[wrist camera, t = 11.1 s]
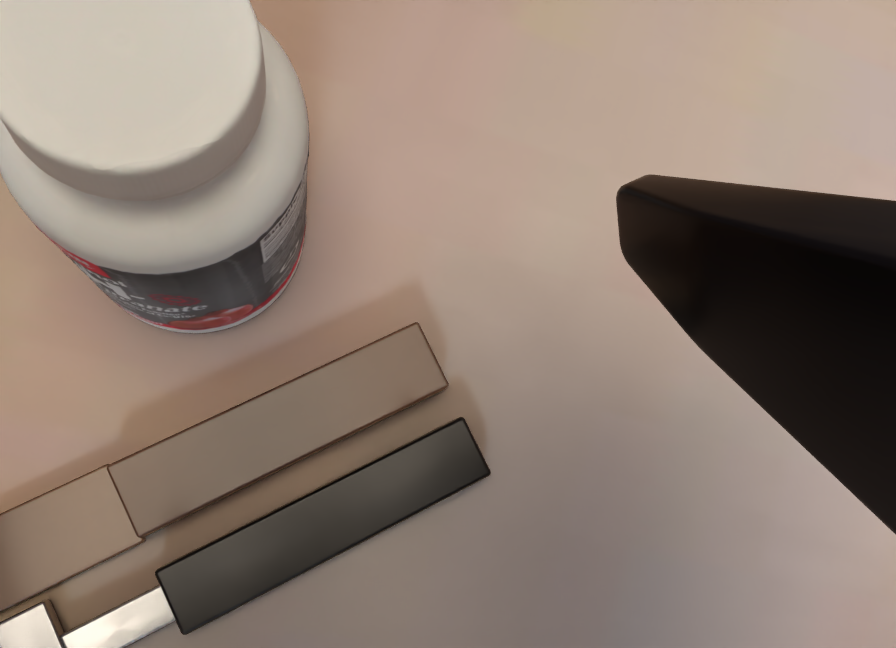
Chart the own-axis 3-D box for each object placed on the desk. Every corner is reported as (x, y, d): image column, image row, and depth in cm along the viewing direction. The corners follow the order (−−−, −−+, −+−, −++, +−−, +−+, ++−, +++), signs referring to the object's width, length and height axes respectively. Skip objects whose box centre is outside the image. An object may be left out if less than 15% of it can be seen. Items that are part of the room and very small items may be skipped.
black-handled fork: (448, 400, 22) (454, 397, 21) (493, 492, 22) (501, 492, 21) (-209, 726, 18) (-235, 738, 17) (-163, 841, 18) (-187, 859, 17)
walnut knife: (411, 324, 22) (416, 317, 21) (445, 393, 22) (452, 389, 21) (-257, 635, 18) (-288, 644, 17) (-223, 722, 18) (-252, 735, 17)
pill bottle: (60, 312, 21) (-142, 165, 11) (118, 112, 22) (-20, -175, 12) (280, 357, 21) (267, 256, 12) (325, 162, 22) (345, -74, 13)
